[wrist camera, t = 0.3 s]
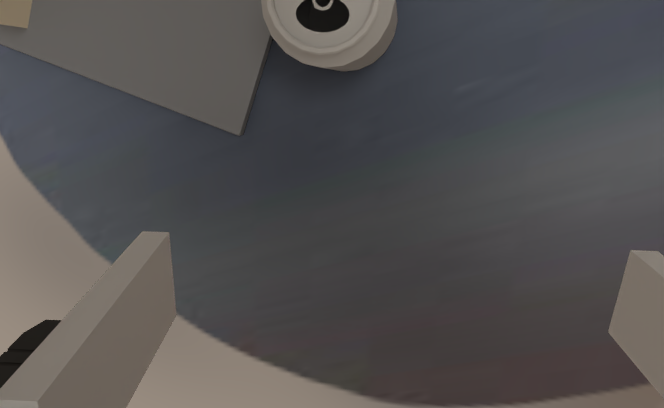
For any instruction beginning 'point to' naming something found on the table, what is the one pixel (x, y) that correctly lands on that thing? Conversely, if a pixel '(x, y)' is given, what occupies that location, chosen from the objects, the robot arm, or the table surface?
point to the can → (332, 30)
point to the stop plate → (152, 49)
